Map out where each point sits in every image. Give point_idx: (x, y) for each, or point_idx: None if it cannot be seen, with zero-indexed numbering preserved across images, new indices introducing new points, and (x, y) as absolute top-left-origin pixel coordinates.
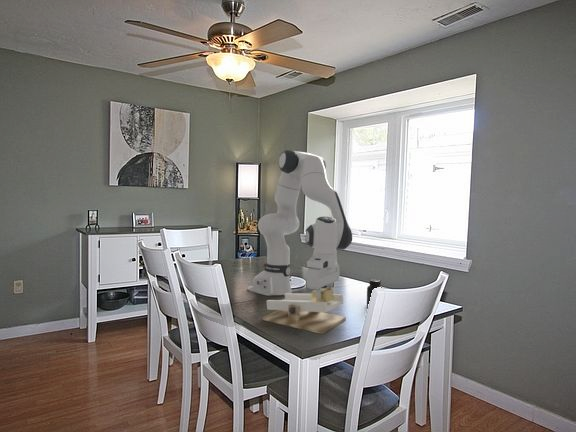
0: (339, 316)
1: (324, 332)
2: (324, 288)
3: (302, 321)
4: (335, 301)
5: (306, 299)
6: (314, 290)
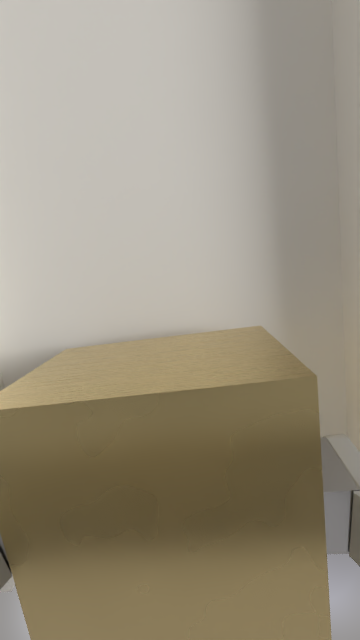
0: None
1: None
2: (313, 510)
3: None
4: None
5: (313, 48)
6: (64, 419)
